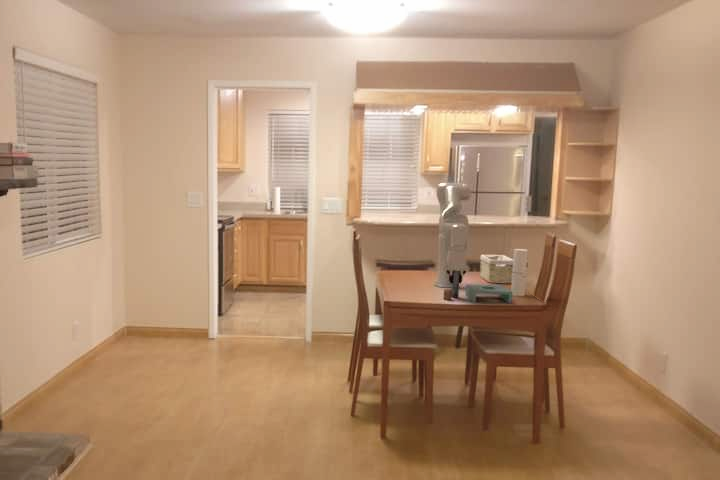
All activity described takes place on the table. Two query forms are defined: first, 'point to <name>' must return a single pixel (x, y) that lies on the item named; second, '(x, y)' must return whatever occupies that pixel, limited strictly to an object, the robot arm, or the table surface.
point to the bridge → (488, 291)
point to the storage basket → (496, 268)
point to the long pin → (455, 284)
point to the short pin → (447, 294)
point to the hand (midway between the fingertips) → (455, 282)
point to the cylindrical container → (519, 272)
